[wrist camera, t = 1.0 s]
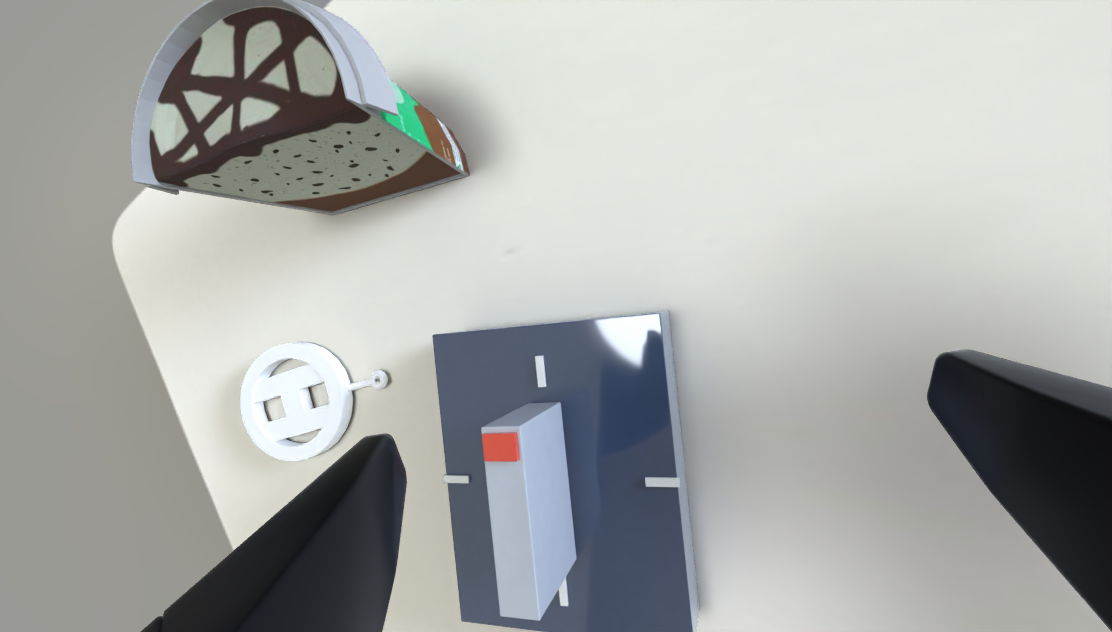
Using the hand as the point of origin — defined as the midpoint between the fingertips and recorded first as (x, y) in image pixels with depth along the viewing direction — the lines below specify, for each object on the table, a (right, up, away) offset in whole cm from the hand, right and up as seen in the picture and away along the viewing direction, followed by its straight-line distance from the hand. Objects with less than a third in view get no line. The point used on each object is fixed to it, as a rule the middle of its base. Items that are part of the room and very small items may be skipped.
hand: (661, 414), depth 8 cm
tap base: (-1, -6, +17) cm, 18 cm away
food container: (-11, +11, +20) cm, 26 cm away
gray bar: (-2, -6, +14) cm, 15 cm away
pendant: (-16, -3, +22) cm, 28 cm away
